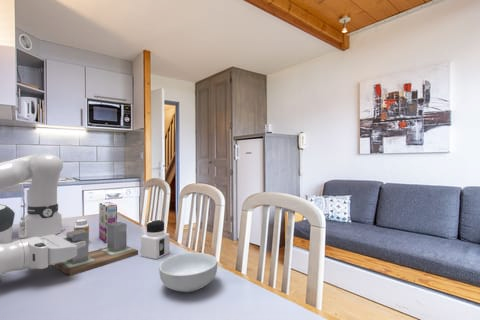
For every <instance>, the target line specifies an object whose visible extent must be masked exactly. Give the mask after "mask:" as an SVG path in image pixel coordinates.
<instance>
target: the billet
mask: <svg viewBox="0 0 480 320" xmlns="http://www.w3.org/2000/svg"><path fill="white" fill-rule="evenodd" d="M127 242H128V241H127V223H125V222H122V221H117V222H116V223H111V224H107V243H106V244H107V250H109V251H111V252H113V253H115V252H119V251H122V250H126V249H127V246H128V245H127Z"/></svg>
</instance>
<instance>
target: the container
mask: <svg viewBox="0 0 480 320" xmlns="http://www.w3.org/2000/svg"><path fill="white" fill-rule="evenodd" d="M170 235H171V234H170V233H167V232H165V222H164V220H161V219H154V220H150V221H148V222H147V223H146V234H143V235H140V256H141V257H145V258H148V259H153V260H157V259H160V258H162V257H164V256H166V255H168V254H170V249H171V248H170V244H171V243H170V242H171V241H170V238H171V237H170Z"/></svg>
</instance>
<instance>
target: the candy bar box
mask: <svg viewBox="0 0 480 320" xmlns="http://www.w3.org/2000/svg"><path fill="white" fill-rule="evenodd" d="M98 205H99V207H98V210H99V211H98V212H99V215H98V218H99V219H98V222H99V223H98V225H99V227H98V238H99V239H101V241H103V243H105V244H107V224H111V223H116V222H118V205H117V204H116V203H113V202H110V201H107V202H99V204H98Z"/></svg>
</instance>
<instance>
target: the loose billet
mask: <svg viewBox="0 0 480 320" xmlns="http://www.w3.org/2000/svg"><path fill="white" fill-rule="evenodd" d="M66 237H67V241H69V242H71V243H77V242H79V241H82V240H83V241H86V246H84V247H80V248H79V249H77V256H76V257H74V258H72V259H69V260H67V262H69V263H70V264H72V265H74V264H77V263H81V262H84V261H88V252H89V242H88V231H85V230H83V229H81V230H76V231H74V230H73V231H67V232H66Z"/></svg>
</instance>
